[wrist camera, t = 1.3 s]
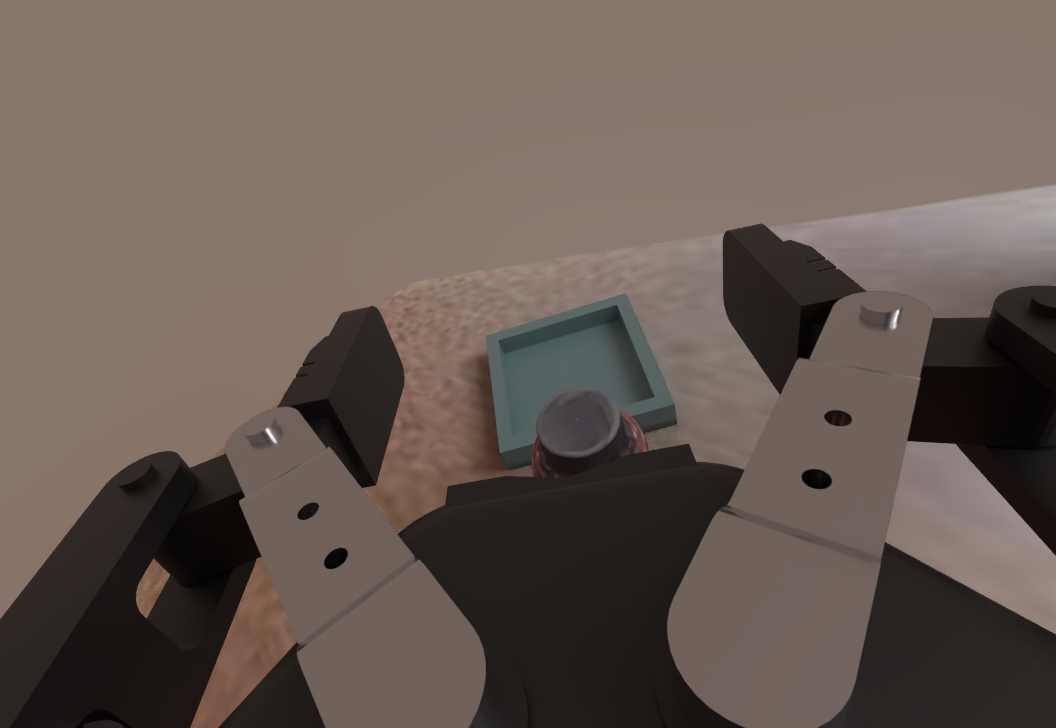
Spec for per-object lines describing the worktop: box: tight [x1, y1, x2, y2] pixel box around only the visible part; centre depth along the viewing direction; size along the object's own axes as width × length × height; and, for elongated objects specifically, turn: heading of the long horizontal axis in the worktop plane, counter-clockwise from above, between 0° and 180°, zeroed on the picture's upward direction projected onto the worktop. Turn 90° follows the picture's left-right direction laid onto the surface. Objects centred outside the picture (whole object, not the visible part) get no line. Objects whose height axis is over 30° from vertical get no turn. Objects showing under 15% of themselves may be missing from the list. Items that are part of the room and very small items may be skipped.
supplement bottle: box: [532, 387, 649, 478], centre depth 28 cm, size 6×6×11 cm
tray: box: [486, 294, 677, 470], centre depth 40 cm, size 12×12×2 cm
